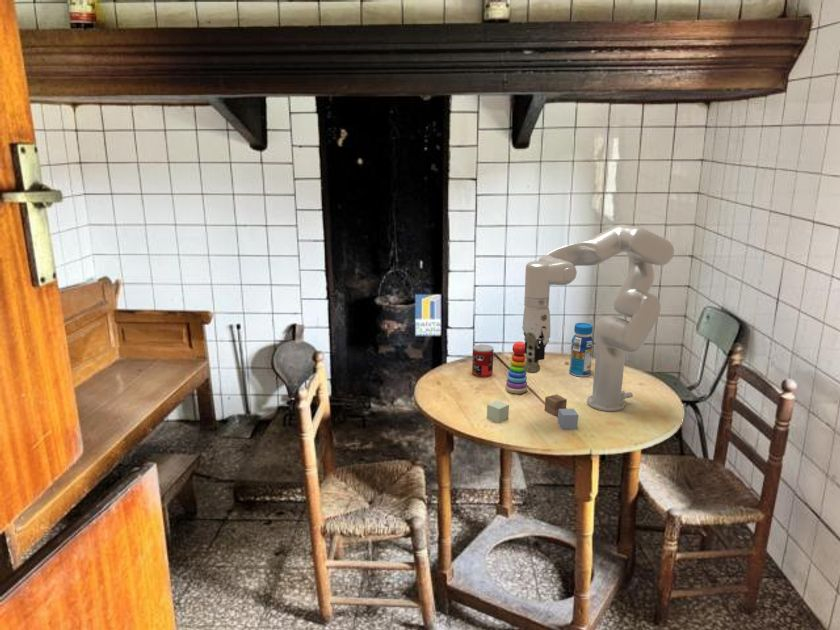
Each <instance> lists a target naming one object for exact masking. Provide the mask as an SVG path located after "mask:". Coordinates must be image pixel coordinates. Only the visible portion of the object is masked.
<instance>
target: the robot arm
mask: <svg viewBox="0 0 840 630" xmlns="http://www.w3.org/2000/svg"><path fill="white" fill-rule="evenodd" d="M624 252H625V253H626V255H627V258H628V263H629V268H628V273H627V276H626V278H625V280H624V282H623V284H622V285H621V287H620V288H619V291H618V292H617V294H616V296H615V299H614V300H613V309H614V311H615V312H617V314H619V315H622V316H625V317H627V318H630V319H629V320H626V319H624V318H621V317H620V316H619V317H618V316H615V315H610V314H609V315H604V316H602V317H601V318H599V319H598V320H597V322H596V324H595V327H594V328H595V329H594V337H595V338H594V339H595V344H596V345H595V360H594V361H595V362H594V371H593V375H594V376H593V384H592V394H591V395H590V396H588V397H587V399H586V400H587V401H586V403H587V405H588V406H589V407H591V408H593V409H594V410H598V411H604V412H618V411H622V410H623V409H624V408H625V406H626V403H625V401H624V400H626V399H629V398H630V399H631V398H633V397H634V395H633V392H631V391H629V392H626V391H625V390H622V389H623V380H624V368H625V361H626V359H625V358H626V355H625V352H627V353H634V352H637V351H639V350H640V349H641V348H642V347H643V346H644V344H645V342H646V341H647V339H648V337H649V335H650V333H651V331H652V329H653V328H654V326H655V325H656V322H657V321H658V318H659V316H660V313H661V302H660V300H659V298H658V297H657V296H656V295H654V294H652V293H650V290H651V288H652V286H653V283H654V280H655V271H654V266H665V265H667V264H669V263H670V262H671V261H672V260H673V258H674V255H675V249H674V246H673V243H672V242H671V241H670V240H668V239H666V238H664V237H662V236H660V235H658V234H656V233H654V232H652V231H650V230H648V229H645V228H643V227H640V226H633V225H628V224H623V223H622V224H616V225H613V226H612V227H610V228H608V229H606V230H604V231H602V232H601V233H599V234H596V235H594V236H592V237H591V238H588V239H587V240H584V241H583V240H582V241H578V242H574V243H570V244H567V245H563V246H560V247H557V248H555V249H553V250H551V251H549V252H548V253H545V254H544V255H542V256H541V257H540V258H538V260H533V261H530V262H528V263H527V264H525V276H524V277H525V280H524V303H523V305H524V309H523V315H522V327H521V328H522V331H523V335H524V344H525V354H524V355H526V353H527V341H526V339H525V334H527V333H529V334H532V336H534V339H536V348H535V360H538V361H543V360H545V355H546V353H545V352H546V347H547V345H548V343H550V338H551V314H550V292H551V291H550V288H551V287H550V286H553V285H554V286H565V285H569V284H571V283H572V282H573V281H575V279H576V278H577V272H578V271H577V268H576V267H579V266H581V267H582V266H583V267H584V266H585V267H586V266H587V267H589V266H598V265H601V264H602V263H604V262H605V261H607V260H610V259H612V258H613V257H615V256H616V255H618V254H620V253H624ZM653 265H654V266H653ZM541 335H542V338H543V341H542V342H540V341H539V340H542V339H541V338H539V336H541Z"/></svg>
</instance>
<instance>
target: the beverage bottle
mask: <svg viewBox="0 0 840 630" xmlns="http://www.w3.org/2000/svg"><path fill="white" fill-rule="evenodd" d="M573 329H574V331H573V332H574V334H573V336H572V339H571V345H570V360H569V361H570V362H569V363H570V364H569V371H568V372H569V373H570V375H572V376H575V377H579V378H580V377H581V378H582V377H583V378H585V377H588V376H591V373H592V370H591V368H592V360H593V359H592V357H593V351H594V347H593V345H594V339H593V337H592V334H593V324H591V323H588V322H577V323H575V324H574V328H573Z"/></svg>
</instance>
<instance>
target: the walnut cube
mask: <svg viewBox="0 0 840 630" xmlns="http://www.w3.org/2000/svg"><path fill="white" fill-rule="evenodd" d="M567 401H568V399H567V398H565V397H563V396H561V395H559V394H552V395H549V396H545V399H544V411H545V412H547V413H548V414H550V415H552V416H558V411H559V409H567V403H568V402H567Z"/></svg>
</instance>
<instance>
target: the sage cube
mask: <svg viewBox="0 0 840 630" xmlns="http://www.w3.org/2000/svg"><path fill="white" fill-rule="evenodd" d="M486 406H487V407H486V419H488V420H489V421H493V422H495V423H497V424H500V423H502V422H504V421H506V420H509V409H510V405H509V404H508V403H505V402H503V401H500V400H495V401H493V402H490V403H488V404H487V405H486Z"/></svg>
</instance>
